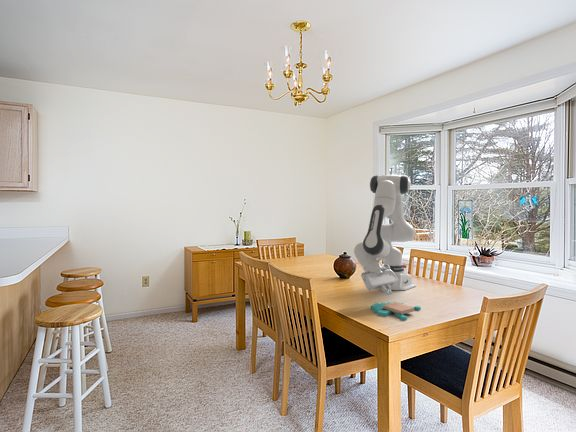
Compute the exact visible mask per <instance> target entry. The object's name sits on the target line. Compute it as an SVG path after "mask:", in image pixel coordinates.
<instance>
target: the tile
mask: <svg viewBox="0 0 576 432" xmlns="http://www.w3.org/2000/svg"><path fill="white" fill-rule="evenodd" d="M400 303H401V302H397V301H394V303H393V302H390V304H386V305H383V308H384V309H386V310H389V311H392V312H395V313H398V314H404V315H406V314H409V313H411V312H414V311H415V310H414V307H415V306H412V307H410V306H411V305H407V304H404V303H403V304H400Z"/></svg>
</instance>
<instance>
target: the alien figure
mask: <svg viewBox="0 0 576 432" xmlns="http://www.w3.org/2000/svg"><path fill="white" fill-rule="evenodd" d="M394 302H395V301H394ZM394 302H392V303H394ZM390 303H391V301H390V302H375V303H373V304H372V305H370V310H372V311H373V312H374V313H375V314H377V315H378V316H380V317H388V316H390V315H391V314H394V316H396V317H397V318H399V319H400V321H405V322H406V321H407V320H408V316H407V315H405V314H398V313H395V312H392V311H389V310H386V309H384V308H383V305H386V304H390ZM399 303H400V304H403V305H404V303H401V302H399ZM409 306H410V307H414V311H418V312H419V311H421V306H419V305H415V306H412V305H409Z"/></svg>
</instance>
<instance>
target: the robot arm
mask: <svg viewBox="0 0 576 432" xmlns="http://www.w3.org/2000/svg"><path fill="white" fill-rule="evenodd" d="M411 185H412V184H411V180H410V177H409V176H408V175H405V174H381V175H379V174H376V175H374V176H372V177H371V178H370V181H369V188H370V191H371V192H372V193H373V194H374V198H373V199H374V200H373V208H372V211H371V214H370V220H369V224H368V230H367V233H366V234H365V236H364V239H363V241H361V242H359V243H357V244H356V245H355V247H354V249H353V254H354V256H355V258H356V260H357V262H358V263H359V265H360V266H361V267H362V270H363V271H364V272H361V275H360V277H361V279H362V281H363V283H364V285H365V288H366V289H367V290H368V291H373V290H377V289H380V291H382V292H383V293H384V294H385V295H386V296H388V295H392V294H393V291H408V290H410V289H412V288H415V287H416V285H417V284H416V283H414V282H413V281H412V276H411V275H410V274H408V272H407V271H405V269H407V267H408V266H407V264H403V253H402V251H401V250H400V248H397V247H395V246H394V245H393V244H392V243H394V242H395V243H405V242H412V241H413V240H414V239H415V236H416V230H415V227H414V226H413V225H412V224H410V223H409V222H408V221H407V219H406V218H405V216H404V211H403V196H402V195H405V194H406V193H409V191H410V189H411ZM385 218H387V219H388V220H390V221H392V222H393V223H384V219H385ZM380 260H382V262H379V261H380Z"/></svg>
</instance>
